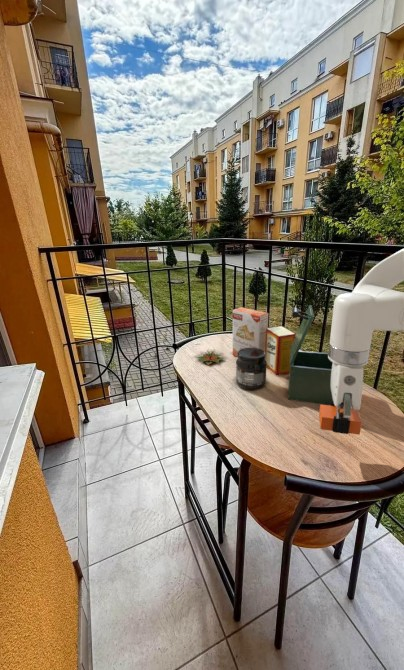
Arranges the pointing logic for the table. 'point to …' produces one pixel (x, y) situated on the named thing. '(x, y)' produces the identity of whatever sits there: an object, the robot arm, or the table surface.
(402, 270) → the robot arm
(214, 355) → the green red plant
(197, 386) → the table surface
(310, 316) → the bin lid
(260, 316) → the cracker box
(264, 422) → the table surface
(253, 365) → the supplement container
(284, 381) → the table surface
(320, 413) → the block
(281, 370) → the baking soda box
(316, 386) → the bin
